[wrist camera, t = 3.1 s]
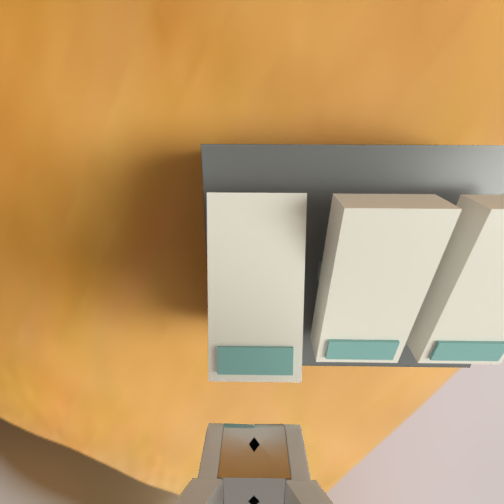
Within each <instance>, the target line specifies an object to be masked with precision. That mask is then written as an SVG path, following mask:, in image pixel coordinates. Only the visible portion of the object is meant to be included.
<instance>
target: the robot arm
mask: <svg viewBox="0 0 504 504" xmlns="http://www.w3.org/2000/svg"><path fill="white" fill-rule="evenodd" d="M173 504H333V502H332V501H331V500H330V498H329V497H328V496H327V494H326V493H325V492H324V490H323V489H322V488H321V486H320V485H319V484H318V482H317V481H316V480H311V478H310V473H309V467H308V462H307V456H306V451H305V445H304V440H303V434H302V429H301V426H300V425H287V424H285V425H284V424H254V425H247V424H221V423H209V424H208V427H207V431H206V436H205V442H204V447H203V452H202V458H201V463H200V469H199V474H198V478H193V479H192V480H191V481H190V483H189V484H188V485H187V486H186V488H185V489H184V490H183V492H182V493H181V494H180V495H179V497H178V498H177V499H176V501H175V502H174V503H173Z"/></svg>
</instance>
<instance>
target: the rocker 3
mask: <svg viewBox="0 0 504 504" xmlns="http://www.w3.org/2000/svg"><path fill="white" fill-rule="evenodd" d="M456 206H458V207H460V208H461V209H462V211H461V213H460V215H459V218H458V220H457V222H456V225H455V227H454V230H453V232H452V234H451V237H450V239H449V241H448V244H447V246H446V249H445V251H444V253H443V256H442V258H441V261H440V263H439V265H438V268H437V270H436V272H435V275H434V277H433V280H432V282H431V284H430V287H429V289H428V291H427V294H426V296H425V299H424V301H423V303H422V306H421V308H420V310H419V313H418V315H417V318H416V320H415V322H414V325H413V327H412V330H411V332H410V334H409V337H408V339H407V341H406V344H407V346H408V348H409V349H410V351H411V353H412V354H413V356H414V357H415V359H416V361H417V362H418V363H447V364H501V362H502V361H503V359H504V195H492V194H461V195H460V197H459V200H458V202H457V205H456Z"/></svg>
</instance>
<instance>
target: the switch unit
mask: <svg viewBox="0 0 504 504" xmlns="http://www.w3.org/2000/svg"><path fill="white" fill-rule="evenodd" d="M201 154H202V174H203V194H204V214H205V234H206V253H207V192H215V193H307V210H306V245H305V280H304V314H303V349H302V365H307V366H388V367H470V365H471V364H447V363H418V362H417V361H416V359H415V357H414V356H413V354H412V353H411V351H410V349H409V348H408V346H407V344H405V346H404V349H403V351H402V353H401V356H400V358H399V360H398V363H365V362H316V360H315V356H314V351H313V347H312V342H311V338H310V335H311V328H312V322H313V316H314V309H315V303H316V297H317V291H318V284H319V278H320V272H321V265H322V259H323V253H324V246H325V240H326V234H327V227H328V221H329V215H330V208H331V202H332V196H333V193H334V194H436V195H438V196H439V197H441V198H443V199H445V200H447V201H449V202H450V203H452V204H454V205H457V202H458V200H459V197H460V195H461V194H492V195H504V146H499V145H281V144H201ZM207 273H208V270H207Z"/></svg>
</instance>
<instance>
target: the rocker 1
mask: <svg viewBox="0 0 504 504" xmlns="http://www.w3.org/2000/svg"><path fill="white" fill-rule="evenodd" d="M306 210H307V193H215V192H207V270H208V364H209V381H233V382H302V349H303V314H304V280H305V245H306Z"/></svg>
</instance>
